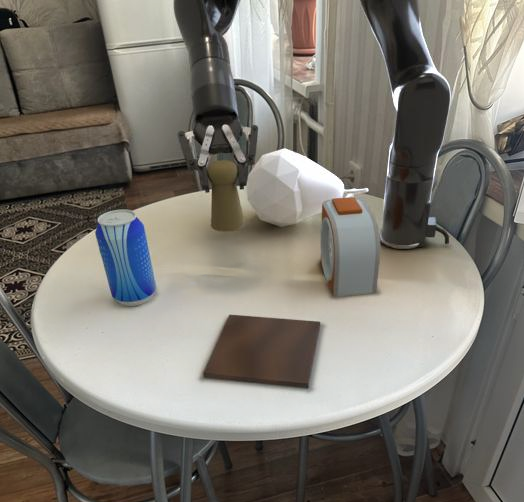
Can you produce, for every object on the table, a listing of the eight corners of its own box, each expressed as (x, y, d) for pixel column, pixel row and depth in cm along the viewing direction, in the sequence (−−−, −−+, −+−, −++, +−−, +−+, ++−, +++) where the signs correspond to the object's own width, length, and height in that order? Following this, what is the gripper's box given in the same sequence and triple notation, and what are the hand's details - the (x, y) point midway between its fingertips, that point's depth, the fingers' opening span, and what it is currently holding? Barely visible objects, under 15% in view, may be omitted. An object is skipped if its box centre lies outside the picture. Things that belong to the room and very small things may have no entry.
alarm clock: (317, 259, 105) (319, 196, 96) (357, 256, 105) (362, 192, 97) (331, 296, 93) (334, 228, 85) (376, 292, 93) (384, 224, 85)
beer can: (116, 286, 99) (96, 209, 89) (159, 283, 100) (143, 205, 90) (109, 310, 93) (87, 229, 83) (155, 306, 93) (138, 225, 83)
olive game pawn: (240, 232, 87) (234, 168, 80) (206, 230, 88) (198, 167, 81) (248, 218, 92) (243, 156, 85) (216, 216, 93) (209, 156, 86)
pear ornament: (240, 136, 108) (373, 140, 102) (262, 170, 130) (371, 174, 124) (233, 213, 109) (364, 221, 103) (255, 234, 131) (364, 241, 125)
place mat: (320, 326, 86) (320, 321, 85) (308, 388, 73) (308, 383, 73) (229, 319, 89) (229, 314, 88) (203, 377, 76) (202, 372, 76)
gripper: (168, 84, 82) (179, 182, 80) (256, 77, 83) (268, 174, 81) (174, 112, 89) (184, 202, 87) (254, 105, 90) (265, 194, 88)
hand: (224, 188), depth 84 cm, fingers closed on olive game pawn, 5 cm apart
